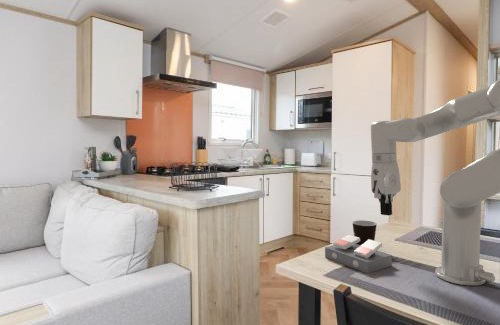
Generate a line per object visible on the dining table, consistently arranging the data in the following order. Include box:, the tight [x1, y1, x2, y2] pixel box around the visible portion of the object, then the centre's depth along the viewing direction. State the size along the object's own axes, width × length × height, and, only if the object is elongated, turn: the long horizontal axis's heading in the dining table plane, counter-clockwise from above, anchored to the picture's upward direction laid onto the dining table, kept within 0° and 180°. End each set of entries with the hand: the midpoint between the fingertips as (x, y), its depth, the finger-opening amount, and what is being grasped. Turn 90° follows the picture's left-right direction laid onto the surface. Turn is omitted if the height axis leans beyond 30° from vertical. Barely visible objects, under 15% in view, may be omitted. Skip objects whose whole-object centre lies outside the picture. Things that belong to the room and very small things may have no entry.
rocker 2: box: [354, 239, 383, 258], centre depth 111 cm, size 5×8×1 cm, turn 123°
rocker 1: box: [332, 234, 360, 250], centre depth 119 cm, size 5×8×1 cm, turn 122°
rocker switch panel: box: [324, 244, 393, 274], centre depth 115 cm, size 18×12×4 cm
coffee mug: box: [352, 219, 378, 245], centre depth 129 cm, size 12×9×10 cm
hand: (386, 214), depth 112 cm, fingers closed
